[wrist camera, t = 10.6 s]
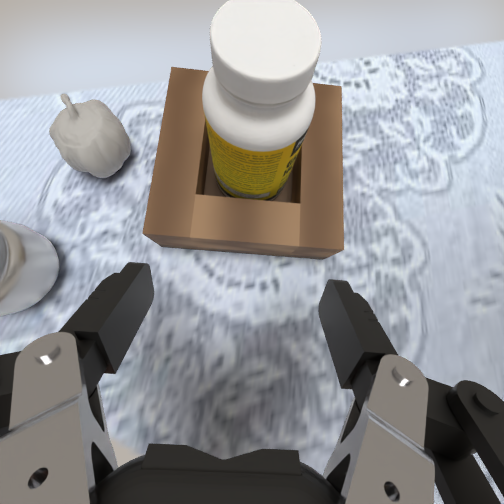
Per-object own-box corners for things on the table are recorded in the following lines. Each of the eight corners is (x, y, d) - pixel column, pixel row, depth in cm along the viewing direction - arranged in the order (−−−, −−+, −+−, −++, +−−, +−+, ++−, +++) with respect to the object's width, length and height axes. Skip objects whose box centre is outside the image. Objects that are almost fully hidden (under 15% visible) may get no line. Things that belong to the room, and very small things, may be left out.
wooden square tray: (323, 122, 23) (341, 86, 19) (323, 259, 20) (343, 250, 16) (183, 107, 22) (171, 66, 18) (161, 246, 19) (142, 233, 15)
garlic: (82, 127, 21) (33, 73, 16) (142, 129, 22) (112, 77, 16) (73, 186, 20) (16, 148, 15) (136, 187, 20) (101, 150, 15)
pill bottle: (286, 209, 20) (347, 101, 9) (214, 208, 19) (185, 92, 8) (284, 146, 21) (335, -18, 10) (216, 143, 20) (193, -30, 10)
